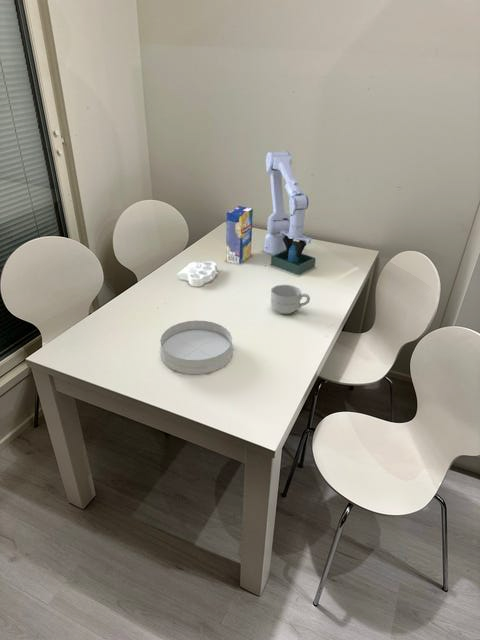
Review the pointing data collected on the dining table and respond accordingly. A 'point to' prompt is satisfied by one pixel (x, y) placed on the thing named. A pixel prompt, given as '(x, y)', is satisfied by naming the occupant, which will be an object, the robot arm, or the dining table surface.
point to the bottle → (293, 253)
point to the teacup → (287, 298)
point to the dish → (196, 347)
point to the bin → (293, 263)
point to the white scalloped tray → (199, 273)
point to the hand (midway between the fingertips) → (293, 255)
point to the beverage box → (239, 234)
